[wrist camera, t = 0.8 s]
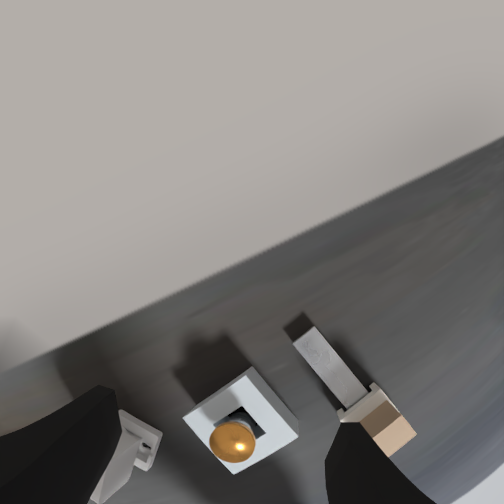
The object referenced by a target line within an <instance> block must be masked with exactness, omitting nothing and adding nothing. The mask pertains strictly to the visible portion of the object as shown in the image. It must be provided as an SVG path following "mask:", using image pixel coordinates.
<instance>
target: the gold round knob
mask: <svg viewBox="0 0 504 504" xmlns="http://www.w3.org/2000/svg"><path fill="white" fill-rule="evenodd" d="M254 429H255V421H254V419H253V418H252V417H251V416H250V415H249V414H247V413H244V412H237V413H234V414H233V415H231V416H230V418H229V419H228V421H227V422H224V423H221V424H220V425H218V426H217V427H216V428H215V429H214V431H213V432H212V434H211V435H210V438H209V445H210V448H211V450H212V452H213V453H214V454H215V455H216V456H217V457H218V458H219V459H221V460H223V461H226V462H229V463H239V462H243V461H245V460H247V459H248V458H250V457H251V455H252V454H253V452H254V449H255V446H256V438H255V435H254V433H253V432H254Z"/></svg>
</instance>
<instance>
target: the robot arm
mask: <svg viewBox="0 0 504 504" xmlns="http://www.w3.org/2000/svg"><path fill="white" fill-rule="evenodd" d="M121 434H122V427H121V422H120V417H119V412H118V407H117V402H116V396H115V390H112V389H109V388H106V387H103V386H99V385H98V386H96V387H95V388H93V389H91V390H90V391H88V392H86V393H85V394H83V395H82V396H80V397H78V398H77V399H75V400H74V401H72V402H70V403H69V404H67V405H65V406H64V407H62V408H60V409H59V410H57V411H55V412H53V413H52V414H50V415H48V416H46V417H44V418H42V419H40V420H38V421H36V422H34V423H32V424H30V425H28V426H26V427H24V428H22V429H20V430H17V431H15V432H12V433H9V434H7V435H4V436H1V437H0V504H87V503H88V501H89V499H90V497H91V495H92V493H93V492H94V490H95V488H96V486H97V484H98V483H99V481H100V479H101V477H102V475H103V474H104V472H105V470H106V468H107V466H108V464H109V463H110V461H111V459H112V457H113V455H114V453H115V450H116V448H117V445H118V442H119V440H120V437H121ZM325 479H326V490H327V495H328V501H329V504H436V503H435V502H434V501H432V500H431V499H430V498H428V497H427V496H426V495H425V494H424V493H422V492H421V491H420V490H419V489H418V488H417V487H416V486H415V485H414V484H413V483H412V482H411V481H410V480H409V479H408V478H407V477H406V476H405V475H404V474H403V473H402V472H401V471H400V470H399V469H398V468H397V467H396V466H395V465H394V463H393V462H392V461H391V460H390V459H389V458H388V457H387V455H386V454H385V453H384V452H383V451H382V449H381V448H380V447H379V446H378V445H377V443H376V442H375V441H374V440H373V438H372V437H371V436H370V435H369V433H368V432H367V431H366V430H365V428H364V427H363V426H362V425H361V423H360V422H341V424H340V427H339V429H338V432H337V434H336V436H335V439H334V441H333V443H332V446H331V448H330V450H329V452H328V455H327V457H326V459H325Z"/></svg>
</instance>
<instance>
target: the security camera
mask: <svg viewBox="0 0 504 504" xmlns="http://www.w3.org/2000/svg"><path fill="white" fill-rule="evenodd" d="M118 412H119V417H120V422H121V427H122V434H121V437H120V440H119V442H118V445H117V448H116V450H115V453H114V455H113V457H112V459H111V461H110V463H109V464H108V466H107V468H106V470H105V472H104V474H103V475H102V477H101V479H100V481H99V483H98V484H97V486H96V488H95V490H94V492H93V493H92V495H91V497H90V499H91V500H93V501H94V502H96V503H97V504H102V503H103V502H105V501H106V500H107V499H108V498H109V497H110V496H112V495H113V494H114V493H115V492H116V491H117V490H118V489H120V488H121V487H122V486H123V485H124V484H125V483H126V482H127V481H128V480H129V478H130V475H131V472H132V468H133V465H135V466H137V467H139V468H140V469H142V470H144V471H147V470H148V469H149V468H151V467H152V464H153V461H154V459H155V456H156V453H157V450H158V447H159V444H160V441H161V438H162V435H163V433H162V432H161V431H159V430H157V429H155V428H153V427H152V426H150V425H148V424H146V423H144V422H143V421H141V420H139V419H137V418H136V417H134V416H132V415H130V414H129V413H127V412H125V411H124V410H122V409H121V410H119V411H118ZM142 443H146V444H147V445H148V446H150V447H151V449H150V448H148V447H147V448H146V447H144V446H143V444H142Z"/></svg>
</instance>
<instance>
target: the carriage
mask: <svg viewBox="0 0 504 504" xmlns="http://www.w3.org/2000/svg"><path fill="white" fill-rule="evenodd" d="M369 387H370V388H371V390H372V391H371V392H370V393H369V394H367V395H366V396H365V397H364V398H363V399H361V400H360V401H359V402H358V403H356V404H355V405H354V406H352V407H351V408H350V409H348V410H347V411H346V412H345V411H344V410H343V409H342V408H341V409H339V410H338V411H337V415H338V417H339V420H340V421H341V422H360V423H361V425H362V426H363V427H364V428H365V430H366V431H367V432H368V433H369V435H370V436H371V437H372V438H373V440H374V441H375V442H376V443H377V445H378V446H379V447H380V448H381V449H382V451H383V452H384V453H385V454H386V455H387V457H389V456H390V455H392V454H393V453H394V452H396V451H397V450H398V449H400V448H401V447H402V446H403V445H404V444H406V443H407V442H408V441H409V440H411V439H412V438H413V437H414V436H415V435H417V434H416V432H415V431H414V430H413V429H412V427H411V426H410V425H409V423H408V422H407V421H406V420H405V418H404V417H403V416H402V415H401V414H400V412H399V411H398V410H397V408H396V407H395V406H394V405H393V403H392V402H391V401H390V400H389V398H388V397H387V396H386V395H385V393H384V392H383V391H382V390H381V388H380V387H378V386H377V385H376V384H375V383H374V382H373V383H372V384H371V385H370V386H369Z"/></svg>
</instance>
